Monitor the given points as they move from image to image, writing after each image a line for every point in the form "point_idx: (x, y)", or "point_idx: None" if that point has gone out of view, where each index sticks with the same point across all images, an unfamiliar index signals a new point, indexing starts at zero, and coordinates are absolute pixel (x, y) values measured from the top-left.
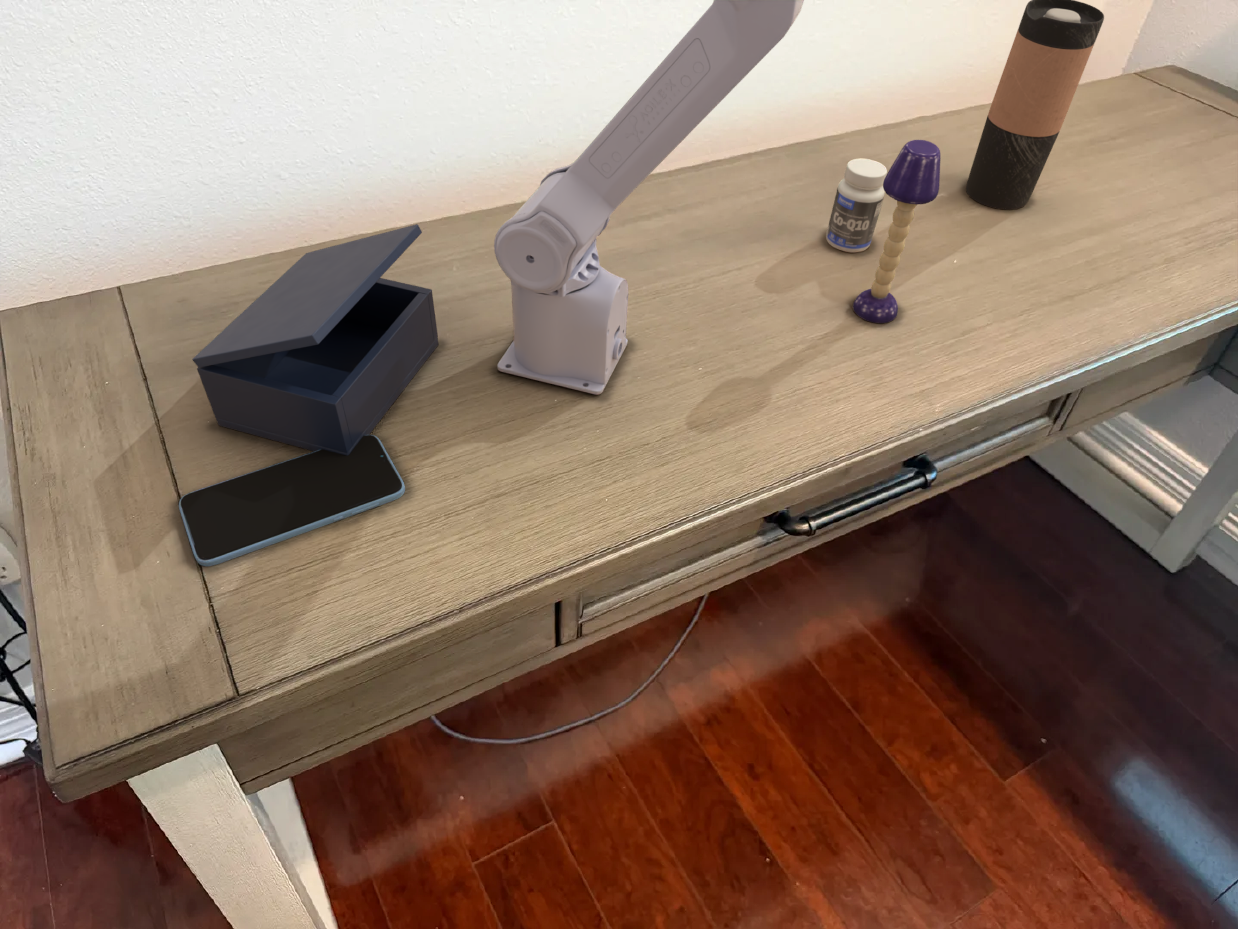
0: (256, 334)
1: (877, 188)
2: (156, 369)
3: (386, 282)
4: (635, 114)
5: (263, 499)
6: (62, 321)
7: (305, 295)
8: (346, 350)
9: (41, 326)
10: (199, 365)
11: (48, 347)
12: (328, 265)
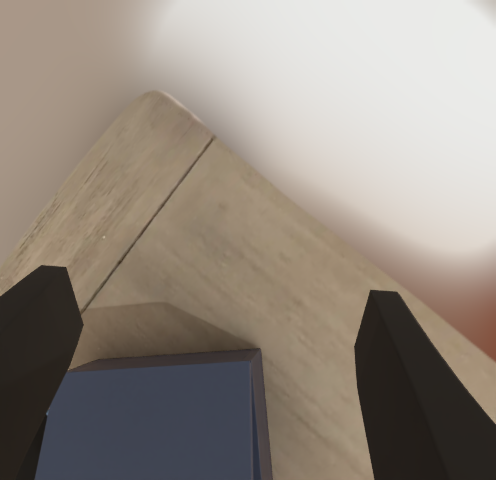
0: (64, 446)
1: None
2: (133, 260)
3: (254, 464)
4: None
5: (39, 454)
6: (151, 136)
7: (125, 464)
8: None
9: (139, 127)
10: None
11: (119, 156)
12: (191, 446)
